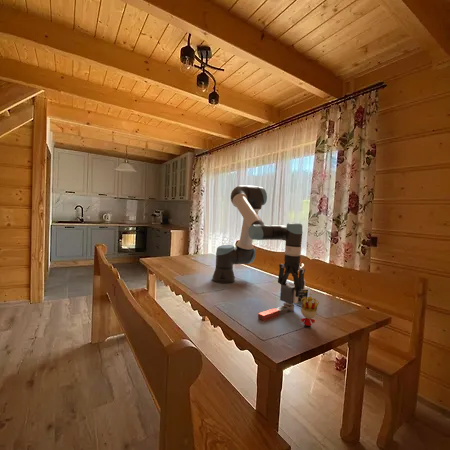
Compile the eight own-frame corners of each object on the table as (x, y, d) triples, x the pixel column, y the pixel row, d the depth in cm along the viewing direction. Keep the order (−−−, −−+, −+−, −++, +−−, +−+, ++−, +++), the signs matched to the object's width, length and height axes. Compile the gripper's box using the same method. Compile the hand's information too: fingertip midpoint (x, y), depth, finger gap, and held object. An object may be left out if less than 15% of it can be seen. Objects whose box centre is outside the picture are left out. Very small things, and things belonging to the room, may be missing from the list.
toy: (312, 323, 115) (315, 290, 114) (319, 331, 108) (322, 296, 107) (296, 322, 115) (299, 290, 114) (302, 330, 108) (305, 295, 107)
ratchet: (287, 307, 133) (288, 292, 132) (295, 310, 129) (297, 295, 128) (256, 318, 118) (257, 301, 117) (264, 322, 114) (266, 304, 113)
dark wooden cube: (287, 297, 133) (288, 282, 132) (298, 301, 128) (299, 285, 128) (280, 300, 129) (281, 284, 128) (290, 304, 124) (291, 287, 123)
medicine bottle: (295, 302, 140) (297, 280, 139) (289, 297, 147) (290, 277, 146) (307, 301, 142) (309, 280, 141) (300, 297, 149) (301, 276, 148)
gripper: (272, 251, 132) (269, 295, 134) (305, 259, 117) (301, 308, 119) (281, 250, 137) (278, 293, 138) (314, 257, 122) (310, 305, 124)
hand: (289, 300), depth 129 cm, fingers closed on dark wooden cube, 6 cm apart
